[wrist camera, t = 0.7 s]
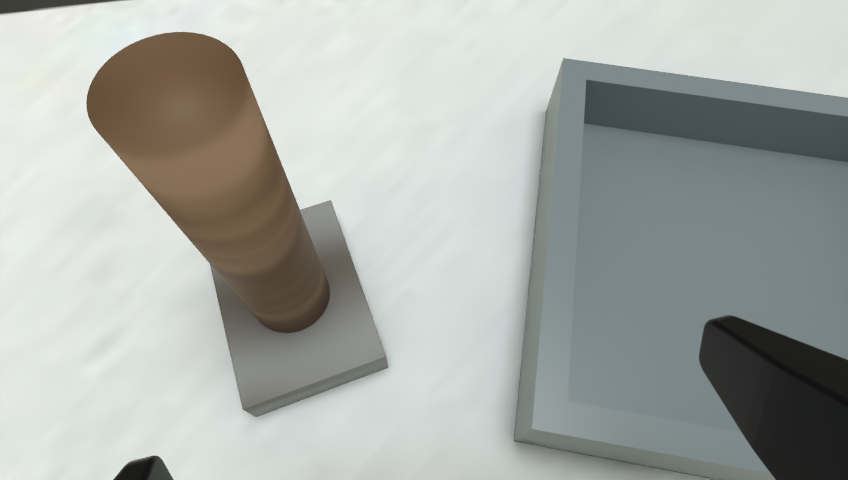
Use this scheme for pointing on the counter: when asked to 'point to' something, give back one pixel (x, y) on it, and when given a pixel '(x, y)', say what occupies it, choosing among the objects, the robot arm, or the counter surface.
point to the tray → (675, 257)
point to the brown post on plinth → (239, 216)
